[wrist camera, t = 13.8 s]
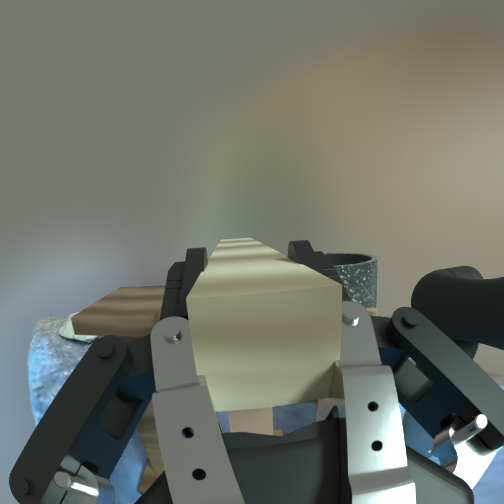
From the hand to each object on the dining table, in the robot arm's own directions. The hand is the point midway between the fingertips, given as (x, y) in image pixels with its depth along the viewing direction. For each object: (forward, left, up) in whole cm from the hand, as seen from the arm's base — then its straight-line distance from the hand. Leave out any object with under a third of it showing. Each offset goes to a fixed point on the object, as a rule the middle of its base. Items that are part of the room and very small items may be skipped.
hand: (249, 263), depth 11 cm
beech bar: (-6, -4, -3) cm, 8 cm away
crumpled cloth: (-44, -101, -39) cm, 117 cm away
